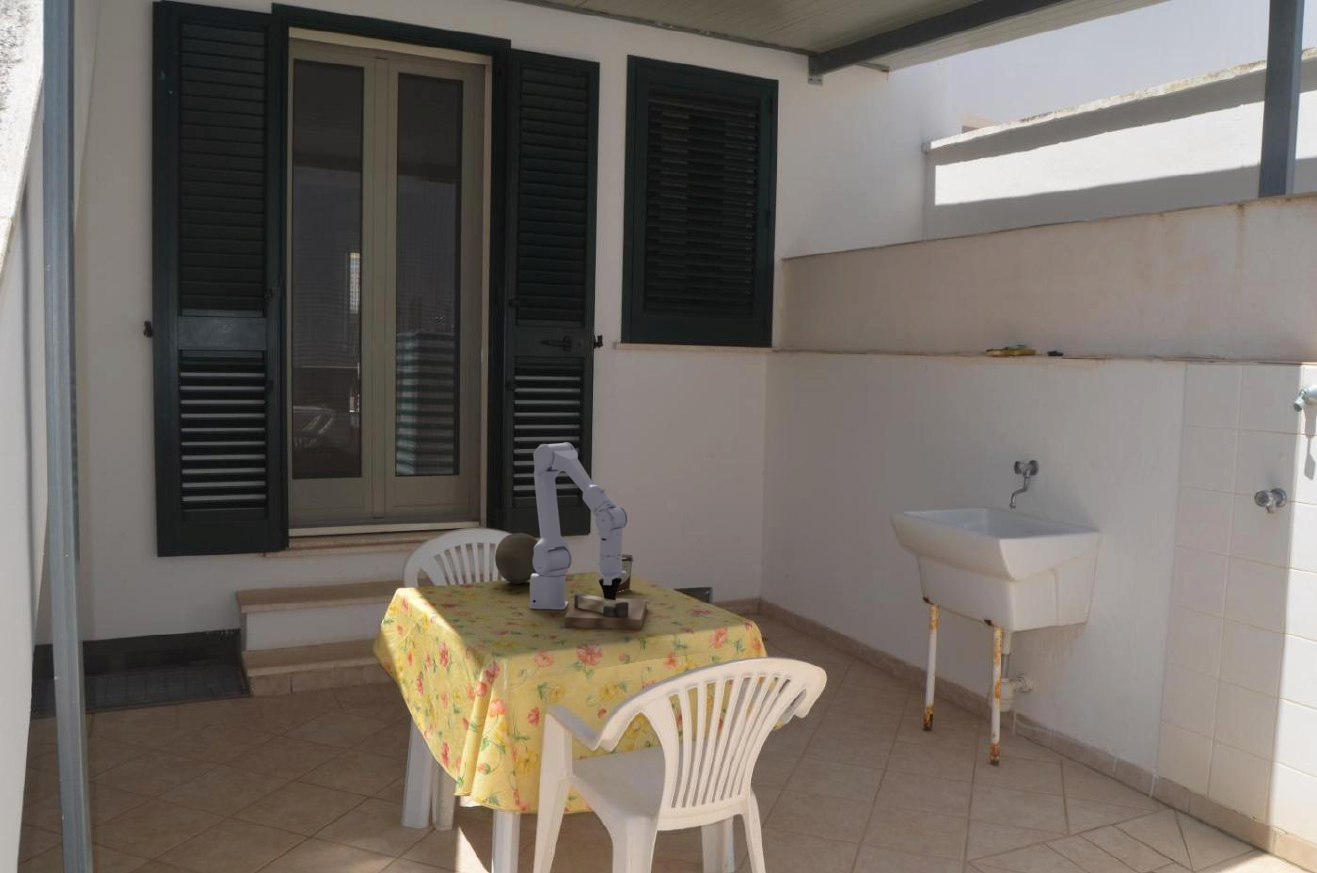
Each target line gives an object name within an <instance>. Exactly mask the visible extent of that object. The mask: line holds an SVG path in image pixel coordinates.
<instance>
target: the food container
mask: <svg viewBox="0 0 1317 873" xmlns="http://www.w3.org/2000/svg"><path fill="white" fill-rule="evenodd" d="M633 563H634V556H633V554H625V553H624V554H623V553H622V571H626V575H621V576H619V577H617V578H621V579H622V581H621V583H620V585H619V587H618V590H617V592H619V591H622V590H626V589H630V590H631V578H632V566H633ZM599 564H600V561H599V562H598V565H599Z"/></svg>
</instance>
